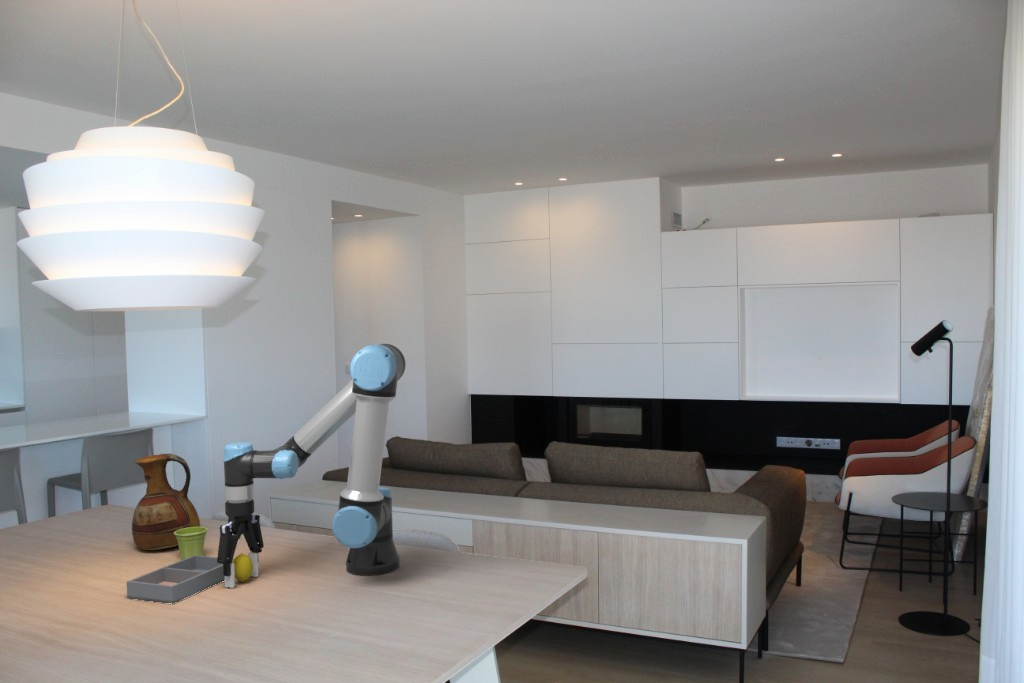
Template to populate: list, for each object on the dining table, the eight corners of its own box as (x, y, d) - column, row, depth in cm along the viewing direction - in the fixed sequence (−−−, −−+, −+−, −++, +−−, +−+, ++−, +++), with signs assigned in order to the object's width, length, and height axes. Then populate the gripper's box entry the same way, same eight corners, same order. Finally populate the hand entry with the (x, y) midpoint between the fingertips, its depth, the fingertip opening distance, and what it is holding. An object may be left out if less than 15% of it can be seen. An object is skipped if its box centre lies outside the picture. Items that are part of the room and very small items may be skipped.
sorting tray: (237, 575, 230) (237, 559, 230) (172, 604, 207) (172, 587, 207) (195, 570, 235) (194, 555, 235) (127, 598, 212) (126, 581, 212)
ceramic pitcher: (132, 543, 267) (129, 452, 266) (198, 535, 275) (195, 446, 274) (132, 558, 249) (129, 461, 248) (203, 549, 257) (200, 455, 256)
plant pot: (186, 565, 241) (185, 536, 240) (168, 560, 246) (167, 531, 246) (214, 557, 248) (213, 529, 248) (197, 552, 254) (196, 525, 253)
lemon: (227, 584, 222) (226, 554, 222) (242, 578, 227) (241, 549, 227) (242, 586, 220) (241, 557, 220) (257, 580, 225) (256, 551, 224)
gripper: (254, 490, 234) (256, 568, 235) (200, 507, 214) (202, 593, 215) (275, 492, 232) (278, 571, 232) (223, 509, 211) (226, 595, 212)
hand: (241, 581), depth 223 cm, fingers open, 9 cm apart
